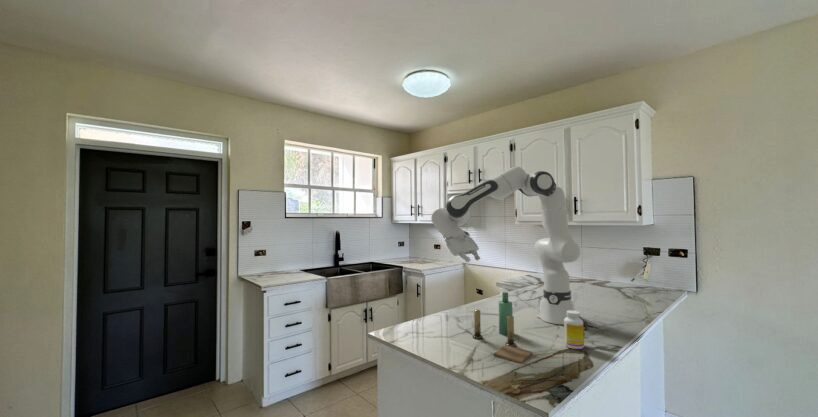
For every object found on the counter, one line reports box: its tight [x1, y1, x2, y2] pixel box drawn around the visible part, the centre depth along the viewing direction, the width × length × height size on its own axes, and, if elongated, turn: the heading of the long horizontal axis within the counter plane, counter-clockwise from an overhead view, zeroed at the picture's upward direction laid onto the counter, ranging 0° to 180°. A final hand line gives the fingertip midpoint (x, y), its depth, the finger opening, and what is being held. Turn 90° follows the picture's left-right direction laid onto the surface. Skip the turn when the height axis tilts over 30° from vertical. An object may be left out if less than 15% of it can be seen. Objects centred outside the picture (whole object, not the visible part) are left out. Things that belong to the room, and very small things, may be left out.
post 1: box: [472, 308, 483, 340], centre depth 135 cm, size 4×4×11 cm
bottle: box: [498, 291, 514, 336], centre depth 140 cm, size 6×6×17 cm
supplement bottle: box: [563, 310, 585, 350], centre depth 125 cm, size 7×7×13 cm
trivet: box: [493, 345, 533, 364], centre depth 117 cm, size 10×10×1 cm
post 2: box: [504, 315, 517, 348], centre depth 126 cm, size 4×4×11 cm
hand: (473, 260), depth 147 cm, fingers open, 8 cm apart
